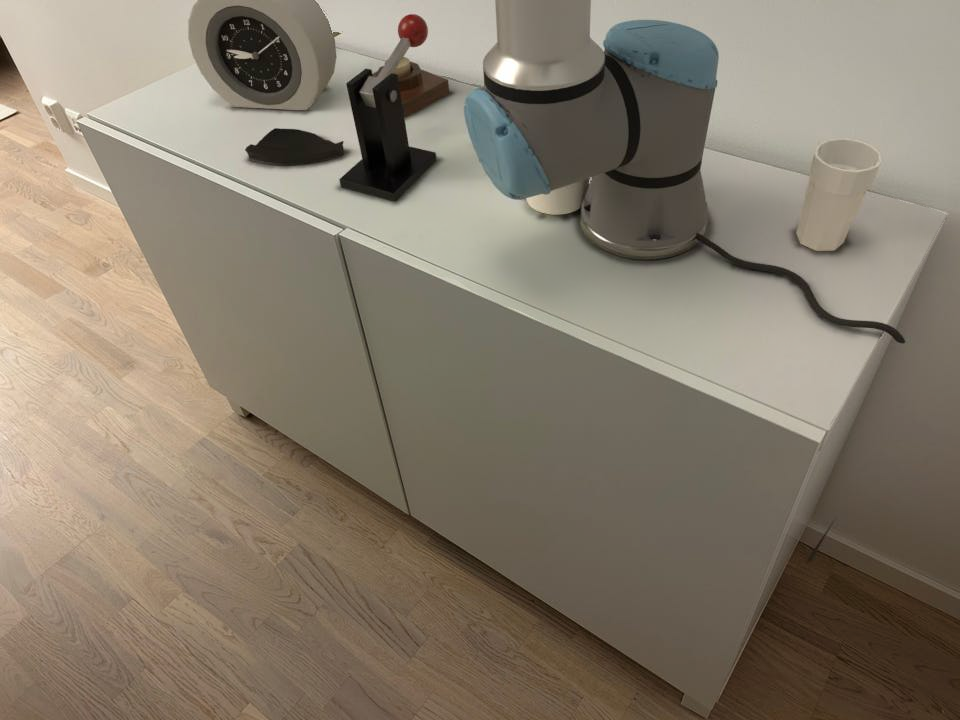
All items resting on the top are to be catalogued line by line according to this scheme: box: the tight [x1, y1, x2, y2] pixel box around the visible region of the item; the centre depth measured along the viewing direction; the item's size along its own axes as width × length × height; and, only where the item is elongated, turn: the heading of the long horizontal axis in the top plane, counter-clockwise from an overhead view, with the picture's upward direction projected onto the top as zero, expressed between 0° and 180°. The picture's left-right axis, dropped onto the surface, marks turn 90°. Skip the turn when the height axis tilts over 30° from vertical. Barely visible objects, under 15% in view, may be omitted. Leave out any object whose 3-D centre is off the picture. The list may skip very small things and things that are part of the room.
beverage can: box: [525, 178, 590, 216], centre depth 89 cm, size 8×8×12 cm
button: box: [384, 56, 411, 77], centre depth 113 cm, size 4×4×2 cm
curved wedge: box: [244, 127, 345, 166], centre depth 106 cm, size 8×14×2 cm, turn 68°
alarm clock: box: [187, 0, 337, 111], centre depth 111 cm, size 21×8×20 cm, turn 77°
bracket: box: [338, 68, 437, 202], centre depth 96 cm, size 11×9×14 cm
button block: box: [372, 60, 451, 118], centre depth 115 cm, size 12×10×4 cm
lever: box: [359, 13, 429, 108], centre depth 94 cm, size 14×4×4 cm, turn 152°
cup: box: [795, 137, 883, 252], centre depth 80 cm, size 7×7×11 cm
